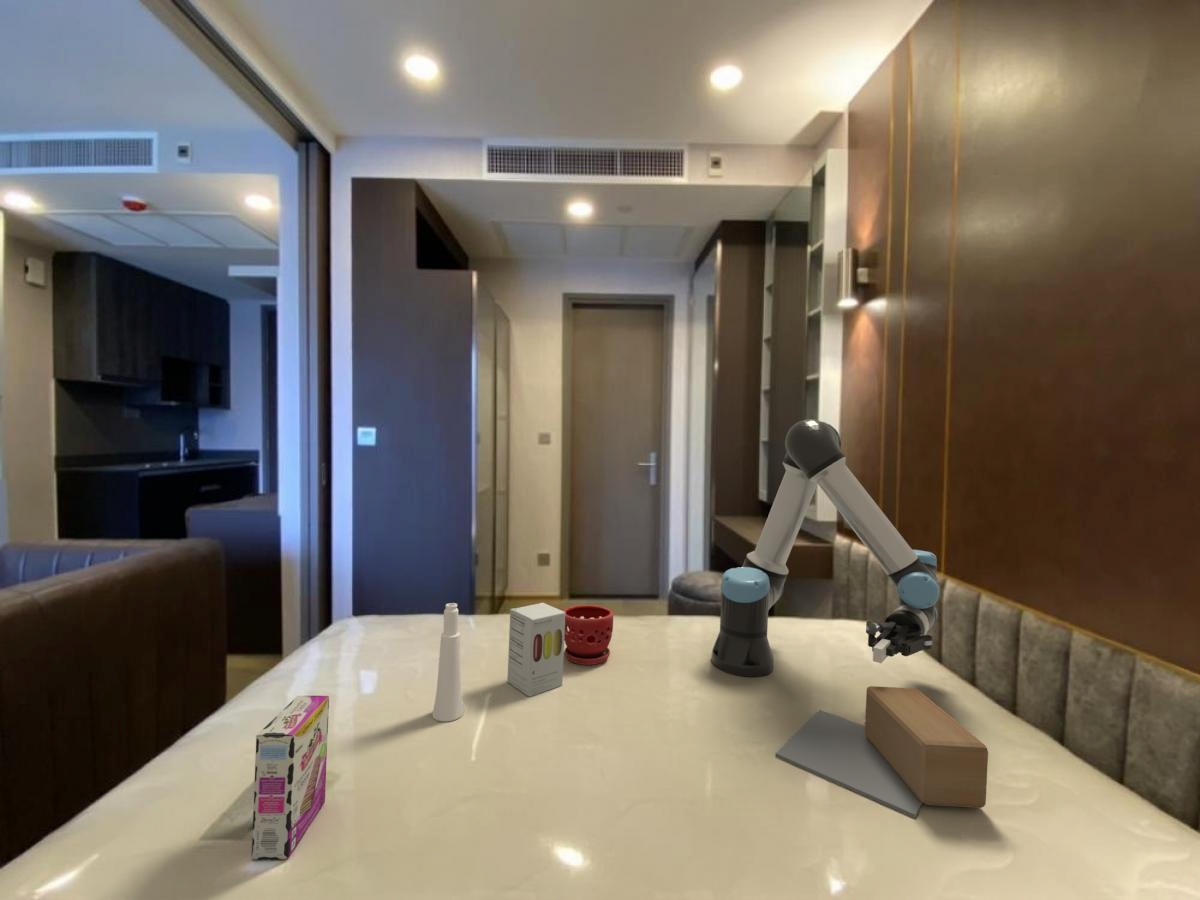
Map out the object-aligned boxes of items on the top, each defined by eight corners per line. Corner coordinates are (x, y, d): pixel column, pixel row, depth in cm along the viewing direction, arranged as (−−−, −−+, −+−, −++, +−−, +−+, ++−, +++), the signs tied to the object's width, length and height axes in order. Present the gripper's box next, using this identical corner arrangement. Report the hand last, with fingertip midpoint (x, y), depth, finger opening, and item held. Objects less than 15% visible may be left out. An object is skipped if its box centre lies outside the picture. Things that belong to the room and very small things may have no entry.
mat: (775, 756, 94) (775, 753, 94) (819, 712, 111) (819, 709, 111) (915, 818, 80) (915, 814, 80) (942, 757, 96) (942, 753, 96)
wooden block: (915, 738, 101) (988, 811, 81) (862, 735, 101) (922, 807, 81) (917, 686, 101) (991, 747, 81) (864, 683, 101) (925, 743, 81)
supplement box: (528, 698, 113) (531, 619, 112) (505, 682, 119) (508, 608, 119) (564, 685, 119) (566, 611, 119) (540, 671, 126) (543, 601, 126)
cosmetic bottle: (469, 714, 105) (473, 605, 105) (442, 725, 101) (445, 611, 100) (453, 703, 109) (456, 598, 109) (426, 713, 105) (429, 604, 104)
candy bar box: (290, 861, 68) (293, 735, 67) (249, 862, 67) (252, 736, 67) (328, 801, 79) (330, 693, 79) (293, 802, 78) (295, 693, 78)
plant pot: (621, 655, 137) (622, 609, 136) (593, 673, 126) (595, 623, 125) (579, 643, 144) (581, 600, 143) (550, 659, 133) (551, 612, 132)
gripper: (939, 650, 115) (915, 686, 97) (874, 634, 123) (841, 664, 106) (940, 616, 115) (916, 645, 97) (875, 602, 123) (842, 627, 106)
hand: (877, 655), depth 101 cm, fingers closed
